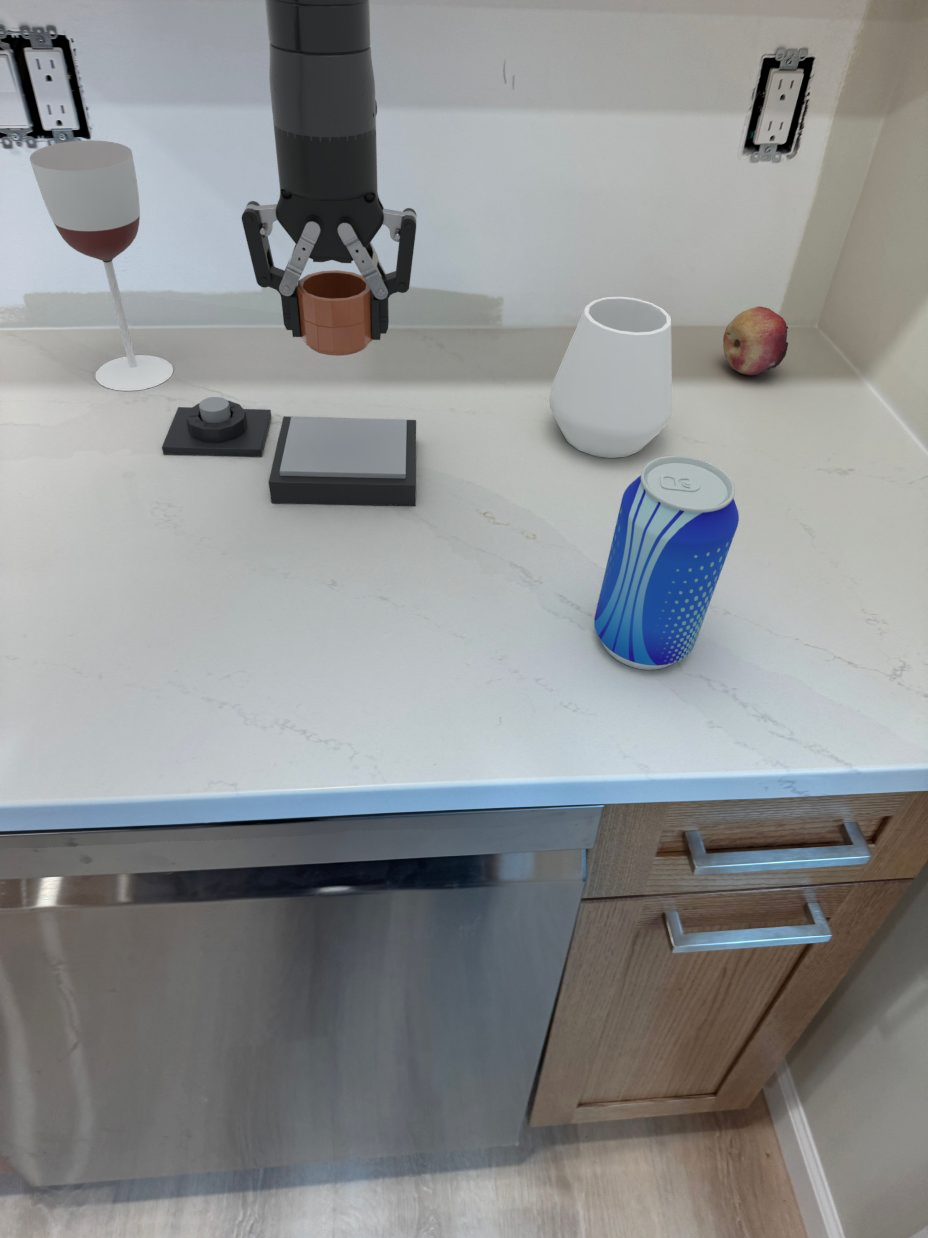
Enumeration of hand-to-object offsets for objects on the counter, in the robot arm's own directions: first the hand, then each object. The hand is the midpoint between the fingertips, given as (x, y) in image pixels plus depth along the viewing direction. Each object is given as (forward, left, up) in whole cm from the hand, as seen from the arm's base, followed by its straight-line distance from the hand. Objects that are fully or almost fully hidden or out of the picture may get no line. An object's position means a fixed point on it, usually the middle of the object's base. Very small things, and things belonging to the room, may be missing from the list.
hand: (337, 334), depth 72 cm
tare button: (-14, +8, -13) cm, 21 cm away
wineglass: (-26, +21, -16) cm, 37 cm away
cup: (+28, +10, -16) cm, 34 cm away
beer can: (+26, -22, -16) cm, 38 cm away
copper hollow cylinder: (0, 0, -1) cm, 1 cm away
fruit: (+49, +26, -16) cm, 58 cm away
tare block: (-14, +8, -16) cm, 22 cm away
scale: (0, +2, -16) cm, 16 cm away
